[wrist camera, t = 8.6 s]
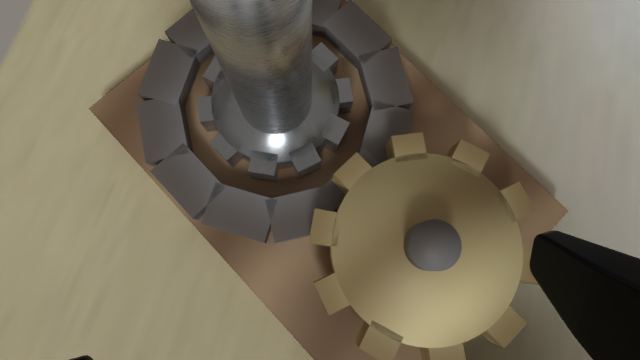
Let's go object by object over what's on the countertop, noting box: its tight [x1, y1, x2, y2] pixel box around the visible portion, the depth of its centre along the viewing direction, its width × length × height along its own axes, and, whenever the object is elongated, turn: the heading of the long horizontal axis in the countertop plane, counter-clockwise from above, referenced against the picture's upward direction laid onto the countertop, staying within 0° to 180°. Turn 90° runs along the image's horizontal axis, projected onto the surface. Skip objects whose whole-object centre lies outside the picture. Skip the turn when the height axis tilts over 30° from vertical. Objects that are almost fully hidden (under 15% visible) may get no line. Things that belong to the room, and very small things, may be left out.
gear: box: [190, 0, 353, 182], centre depth 14 cm, size 7×7×14 cm
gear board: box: [89, 0, 568, 360], centre depth 19 cm, size 21×14×5 cm, turn 44°
